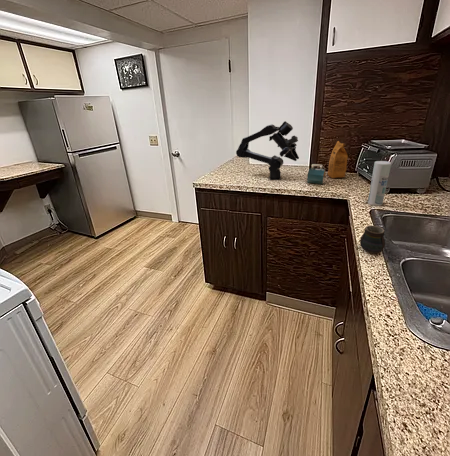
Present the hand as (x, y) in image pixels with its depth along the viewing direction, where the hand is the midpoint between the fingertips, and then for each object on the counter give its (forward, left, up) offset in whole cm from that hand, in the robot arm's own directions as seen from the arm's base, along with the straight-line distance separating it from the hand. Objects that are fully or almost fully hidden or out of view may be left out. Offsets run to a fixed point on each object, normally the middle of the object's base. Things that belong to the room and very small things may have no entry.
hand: (297, 159), depth 153 cm
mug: (+10, -6, -14) cm, 18 cm away
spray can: (+26, -42, -14) cm, 51 cm away
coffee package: (+27, +5, -14) cm, 31 cm away
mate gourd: (+3, -80, -14) cm, 82 cm away
